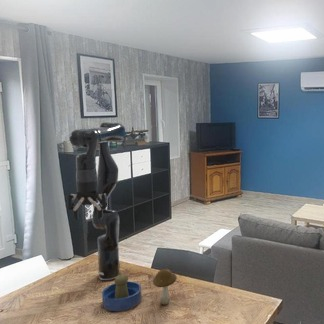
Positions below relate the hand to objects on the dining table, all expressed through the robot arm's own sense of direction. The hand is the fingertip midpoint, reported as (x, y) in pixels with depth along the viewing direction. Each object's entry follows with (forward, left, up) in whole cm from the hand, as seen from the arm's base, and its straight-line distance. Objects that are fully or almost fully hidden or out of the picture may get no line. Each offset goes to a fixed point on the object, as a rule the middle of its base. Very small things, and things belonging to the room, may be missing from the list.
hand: (88, 219), depth 137 cm
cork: (+1, +12, -36) cm, 38 cm away
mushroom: (+4, +30, -36) cm, 47 cm away
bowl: (+1, +12, -36) cm, 38 cm away
